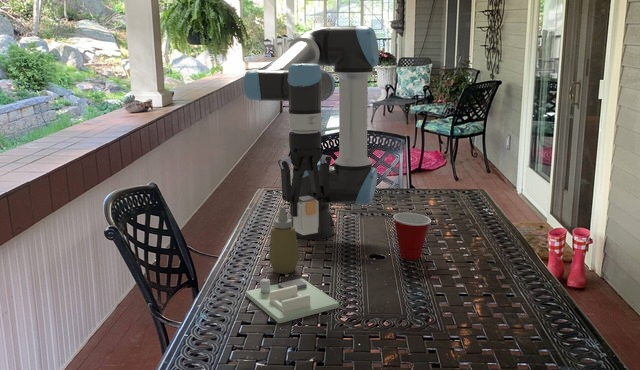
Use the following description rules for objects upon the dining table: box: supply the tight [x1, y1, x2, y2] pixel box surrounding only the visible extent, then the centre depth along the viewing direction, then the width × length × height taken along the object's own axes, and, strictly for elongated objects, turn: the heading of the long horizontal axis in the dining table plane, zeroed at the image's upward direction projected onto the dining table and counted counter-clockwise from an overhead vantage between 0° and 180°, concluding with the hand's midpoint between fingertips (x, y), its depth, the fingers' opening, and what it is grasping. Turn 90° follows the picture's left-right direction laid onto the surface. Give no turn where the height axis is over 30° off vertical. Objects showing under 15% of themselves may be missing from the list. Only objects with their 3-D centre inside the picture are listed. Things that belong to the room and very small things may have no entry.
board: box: [245, 277, 340, 324], centre depth 155 cm, size 18×16×4 cm
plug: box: [295, 196, 318, 235], centre depth 153 cm, size 5×4×8 cm
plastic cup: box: [392, 212, 432, 261], centre depth 183 cm, size 11×11×12 cm
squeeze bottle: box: [268, 206, 300, 275], centre depth 173 cm, size 8×8×18 cm
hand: (306, 227), depth 154 cm, fingers closed on plug, 4 cm apart
